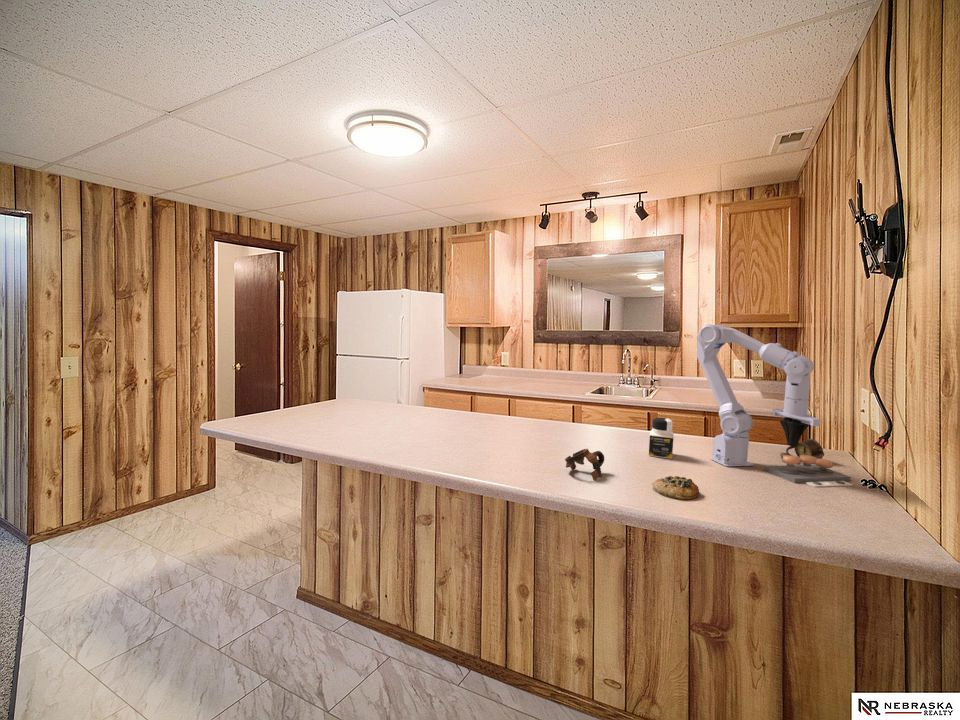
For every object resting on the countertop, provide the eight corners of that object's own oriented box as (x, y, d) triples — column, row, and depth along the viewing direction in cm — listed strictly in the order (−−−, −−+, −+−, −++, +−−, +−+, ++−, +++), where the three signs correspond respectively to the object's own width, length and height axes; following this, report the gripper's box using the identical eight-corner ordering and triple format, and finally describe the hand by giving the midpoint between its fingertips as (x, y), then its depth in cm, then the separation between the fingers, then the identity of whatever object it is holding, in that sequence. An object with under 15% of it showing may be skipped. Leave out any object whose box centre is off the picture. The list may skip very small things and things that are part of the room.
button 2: (823, 471, 137) (824, 462, 137) (811, 467, 141) (812, 458, 140) (835, 471, 137) (836, 462, 137) (823, 466, 141) (823, 458, 141)
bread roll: (694, 486, 126) (695, 469, 125) (703, 508, 116) (704, 489, 115) (650, 483, 129) (650, 466, 128) (654, 504, 118) (655, 486, 117)
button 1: (789, 468, 135) (790, 459, 135) (778, 464, 139) (779, 455, 139) (802, 468, 136) (803, 459, 135) (790, 463, 139) (791, 455, 139)
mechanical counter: (835, 450, 146) (817, 436, 156) (791, 444, 148) (777, 430, 157) (827, 471, 149) (810, 455, 158) (784, 464, 150) (770, 449, 159)
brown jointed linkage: (589, 485, 127) (575, 456, 128) (568, 489, 135) (555, 462, 136) (618, 466, 133) (604, 439, 135) (596, 472, 141) (583, 446, 143)
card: (814, 487, 129) (814, 485, 128) (805, 483, 131) (805, 481, 131) (852, 485, 130) (852, 483, 130) (842, 481, 133) (842, 480, 133)
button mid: (806, 467, 136) (807, 459, 136) (795, 463, 140) (796, 454, 139) (819, 467, 136) (819, 458, 136) (807, 463, 140) (808, 454, 140)
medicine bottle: (648, 456, 154) (650, 419, 153) (649, 450, 160) (651, 415, 159) (672, 459, 151) (674, 422, 150) (672, 453, 158) (674, 417, 156)
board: (794, 482, 131) (794, 477, 131) (764, 470, 142) (764, 465, 142) (850, 480, 134) (850, 475, 134) (816, 468, 145) (817, 463, 145)
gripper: (831, 403, 129) (826, 452, 130) (788, 394, 143) (784, 438, 144) (808, 403, 128) (804, 452, 129) (767, 394, 142) (763, 439, 143)
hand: (792, 445), depth 137 cm, fingers closed
